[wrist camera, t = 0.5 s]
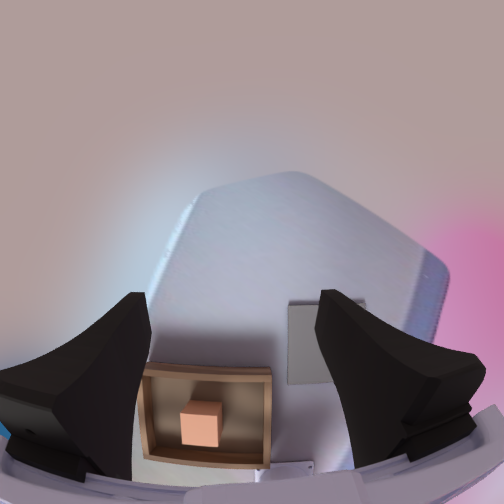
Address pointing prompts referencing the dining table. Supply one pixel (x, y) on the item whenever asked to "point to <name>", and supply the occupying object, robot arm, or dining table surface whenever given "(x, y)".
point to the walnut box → (215, 390)
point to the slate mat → (305, 347)
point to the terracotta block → (201, 423)
